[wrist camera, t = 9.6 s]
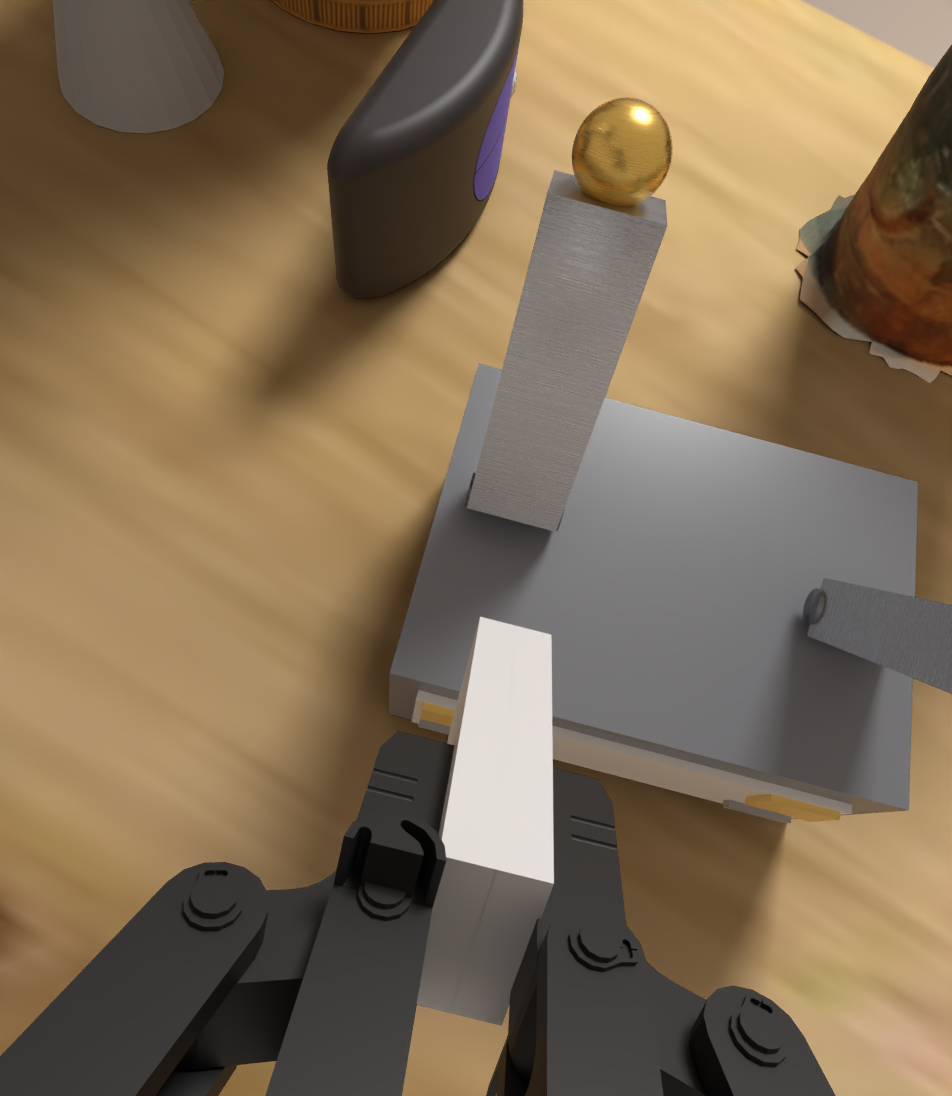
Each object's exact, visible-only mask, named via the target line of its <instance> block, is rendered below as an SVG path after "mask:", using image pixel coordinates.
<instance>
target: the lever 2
mask: <svg viewBox="0 0 952 1096" xmlns="http://www.w3.org/2000/svg"><path fill="white" fill-rule="evenodd" d="M803 618H804V621H805V622H806V623H808V624H810V625H809V629H808V632H807V636H809V637H812V638H814V639H817V640H819V641H822V642H824V643H827V644H829V645H832V646H834V647H837V648H839V649H841V650H844V651H846V652H849V653H851V654H854V655H856V656H859V657H861V658H864V659H866V660H869V661H871V662H874V663H876V664H879V665H881V666H884V667H886V668H889V669H891V670H894V671H896V672H899V673H901V674H904V675H906V676H909V677H911V678H914V679H916V680H919V681H921V682H924V683H926V684H929V685H931V686H934V687H936V688H939V689H941V690H944V691H946V692H949V693H951V694H952V605H949V604H945V603H940V602H935V601H931V600H926V599H921V598H917V597H912V596H907V595H903V594H898V593H893V592H889V591H884V590H879V589H875V588H870V587H865V586H860V585H856V584H851V583H846V582H842V581H837V580H832V579H828V578H823V581H822V584H821V588H820V589H817V588H815V589H813V590H812V591H811V592H810V593H809V595H808V596H807V598H806V601H805V604H804V608H803Z"/></svg>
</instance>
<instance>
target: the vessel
mask: <svg viewBox="0 0 952 1096" xmlns="http://www.w3.org/2000/svg"><path fill="white" fill-rule="evenodd" d="M797 250H799V251H801V252H802V253H804V254H805V255H807V256H809V257H808V258H807V259H805V260H804V261H803V262H802V263H800V264H799V265H798V266H797V267H795V268H796V269H797V270H798V272H799V273H800V274H801V276H802V277H803V281H802V286H801V294H800V300H801V301H803V302H804V303H805V304H806V305H807V306H808V307H809V308H811V309H812V310H813V311H814V312H815V313H816V314H817V315H818V316H819V317H820V318H821V319H822V320H823V321H824V322H825V323H826V324H827V325H828V326H829V327H830V328H831V329H832V330H833V331H835V332H836V333H838V334H839V335H841V336H842V337H844V338H848V339H853V340H861V341H869V342H872V343H871V347H870V352H869V354H872V355H876V356H880V357H883V358H884V359H885V361H886V362H887V364H888V366H889V367H891V368H895V369H901V368H903V369H905V370H907V371H909V372H911V373H913V374H915V375H917V376H919V377H920V378H922V379H923V380H925V381H927V382H928V383H931V382H932V381H933V380H935V379H936V377H937V376H938V374H939V373H940V371H943V372H945V373H947V374H949V375H952V45H951V46H950V48H949V49H948V51H947V52H946V53H945V55H944V56H943V57H942V59H941V60H940V62H939V63H938V65H937V66H936V67H935V69H934V70H933V72H932V73H931V75H930V76H929V77H928V79H927V81H926V83H925V84H924V86H923V88H922V89H921V91H920V93H919V94H918V96H917V98H916V100H915V101H914V103H913V105H912V107H911V109H910V111H909V112H908V114H907V115H906V117H905V118H904V120H903V121H902V123H901V124H900V126H899V128H898V129H897V131H896V132H895V134H894V135H893V137H892V138H891V140H890V142H889V143H888V145H887V146H886V148H885V150H884V151H883V153H882V154H881V156H880V157H879V159H878V161H877V162H876V164H875V166H874V167H873V169H872V171H871V172H870V174H869V175H868V177H867V178H866V179H865V181H864V182H863V184H862V185H861V187H860V188H859V190H858V191H857V193H856V194H855V195H852V196H849V197H847V198H843V197H841V196H838V197H837V199H836V200H835V202H834V204H833V206H832V208H831V210H829V211H827V212H825V213H823V214H821V215H819V216H817V217H815V218H814V219H812V220H810V221H808V222H807V223H806V224H805V225H804V226H803V227H802V228H801V229H800V235H799V243H798V246H797Z"/></svg>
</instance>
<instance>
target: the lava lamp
mask: <svg viewBox="0 0 952 1096" xmlns="http://www.w3.org/2000/svg"><path fill="white" fill-rule="evenodd" d="M52 6H53V19H54V31H55V44H56V57H57V70H58V79H59V83H60V87H61V91H62V95H63V97H64V98H65V99H66V101H67V102H68V103H69V104H70V106H71V107H72V108H73V109H74V111H75V112H76V113H78V114H80V115H81V116H83V117H84V118H86V119H87V120H89V121H91V122H92V123H94V124H95V125H99V126H102V127H105V128H108V129H112V130H115V131H118V132H129V133H145V134H147V133H153V132H159V131H165V130H171V129H175V128H177V127H179V126H182V125H184V124H186V123H189V122H191V121H193V120H195V119H197V118H198V117H199V116H200V115H202V114H203V113H204V112H205V111H206V110H208V109H209V108H210V107H211V106H212V105H213V104H214V102H215V100H216V99H217V97H218V95H219V94H220V92H221V90H222V87H223V78H224V69H223V66H222V63H221V60H220V57H219V55H218V53H217V51H216V49H215V47H214V45H213V44H212V42H211V40H210V38H209V36H208V35H207V33H206V31H205V29H204V27H203V26H202V24H201V22H200V20H199V18H198V17H197V15H196V13H195V11H194V9H193V8H192V6H191V4H190V2H189V0H52Z"/></svg>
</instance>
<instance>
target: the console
mask: <svg viewBox="0 0 952 1096" xmlns="http://www.w3.org/2000/svg"><path fill="white" fill-rule="evenodd" d="M501 373H502V370H501V369H498V368H494V367H490V366H486V365H483V364H478V368H477V371H476V375H475V378H474V382H473V385H472V389H471V392H470V396H469V399H468V402H467V406H466V409H465V413H464V416H463V420H462V423H461V427H460V430H459V434H458V437H457V441H456V444H455V448H454V451H453V455H452V458H451V461H450V465H449V468H448V472H447V475H446V479H445V482H444V486H443V489H442V493H441V496H440V500H439V503H438V507H437V510H436V514H435V517H434V520H433V524H432V527H431V531H430V534H429V538H428V541H427V545H426V548H425V552H424V555H423V559H422V562H421V566H420V569H419V573H418V576H417V579H416V583H415V586H414V590H413V593H412V597H411V600H410V604H409V607H408V611H407V614H406V618H405V621H404V625H403V628H402V632H401V635H400V638H399V642H398V645H397V649H396V652H395V656H394V659H393V663H392V666H391V670H390V675H389V714H391V715H395V716H399V717H402V718H406V719H410V720H412V722H414V723H418V724H419V725H418V727H420V728H423V729H427V730H431V731H435V732H439V733H442V734H446V735H449V732H450V727H451V722H452V719H453V715H454V711H455V708H456V704H457V700H458V697H459V693H460V689H461V685H462V682H463V678H464V674H465V671H466V667H467V663H468V660H469V656H470V652H471V649H472V645H473V641H474V638H475V634H476V630H477V627H478V623H479V619H480V617H483V618H487V619H491V620H495V621H499V622H503V623H507V624H511V625H515V626H519V627H523V628H527V629H531V630H535V631H539V632H543V633H547V634H551V640H552V741H553V759H555V760H558V761H562V762H566V763H570V764H574V765H577V766H581V767H585V768H589V769H593V770H596V771H600V772H604V773H608V774H612V775H615V776H619V777H623V778H627V779H631V780H634V781H638V782H642V783H646V784H649V785H653V786H657V787H661V788H665V789H668V790H672V791H676V792H680V793H684V794H687V795H691V796H695V797H699V798H703V799H706V800H710V801H714V802H718V803H722V804H723V808H727V809H731V810H735V811H738V812H742V813H746V814H750V815H754V816H757V817H761V818H765V819H769V820H773V821H776V822H780V823H791V819H802V820H805V821H809V822H810V821H825V820H839V819H840V815H852V814H865V813H879V812H892V811H906V810H909V785H910V750H911V715H912V681H913V678H911V677H909V676H906V675H904V674H901V673H899V672H896V671H894V670H891V669H889V668H886V667H884V666H881V665H879V664H876V663H874V662H871V661H869V660H866V659H864V658H861V657H859V656H856V655H854V654H851V653H849V652H846V651H844V650H841V649H839V648H837V647H834V646H832V645H829V644H827V643H824V642H822V641H819V640H817V639H814V638H812V637H809V636H807V632H808V629H809V625H810V624H808V623H806V622H805V621H804V618H803V608H804V604H805V601H806V598H807V596H808V595H809V593H810V592H811V591H812V590H813V589H815V588H817V589H820V588H821V584H822V581H823V578H828V579H832V580H837V581H842V582H846V583H851V584H856V585H860V586H865V587H870V588H875V589H879V590H884V591H889V592H893V593H898V594H903V595H907V596H912V597H915V576H916V541H917V507H918V482H917V481H913V480H909V479H905V478H902V477H898V476H894V475H891V474H887V473H883V472H879V471H876V470H872V469H868V468H865V467H861V466H857V465H853V464H850V463H846V462H842V461H839V460H835V459H831V458H828V457H824V456H820V455H816V454H813V453H809V452H805V451H802V450H798V449H794V448H790V447H787V446H783V445H779V444H776V443H772V442H768V441H764V440H761V439H757V438H753V437H750V436H746V435H742V434H739V433H735V432H731V431H727V430H724V429H720V428H716V427H713V426H709V425H705V424H701V423H698V422H694V421H690V420H687V419H683V418H679V417H675V416H672V415H668V414H664V413H661V412H657V411H653V410H650V409H646V408H642V407H638V406H635V405H631V404H627V403H624V402H620V401H616V400H612V399H609V398H604V401H603V404H602V406H601V409H600V412H599V415H598V417H597V420H596V423H595V426H594V428H593V431H592V434H591V437H590V440H589V442H588V445H587V448H586V451H585V453H584V456H583V459H582V462H581V464H580V467H579V470H578V473H577V475H576V478H575V481H574V484H573V486H572V489H571V492H570V495H569V497H568V500H567V503H566V506H565V510H564V513H563V517H562V520H561V523H560V526H559V529H558V531H556V532H554V531H551V530H547V529H543V528H539V527H536V526H532V525H528V524H524V523H521V522H517V521H513V520H509V519H506V518H502V517H498V516H494V515H491V514H487V513H483V512H480V511H476V510H472V509H468V508H467V507H464V506H465V502H466V498H467V494H468V490H469V486H470V483H471V479H472V476H473V472H475V473H476V470H477V466H478V462H479V459H480V455H481V451H482V447H483V443H484V439H485V435H486V431H487V427H488V423H489V419H490V416H491V412H492V408H493V404H494V400H495V396H496V392H497V388H498V384H499V380H500V376H501Z"/></svg>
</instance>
